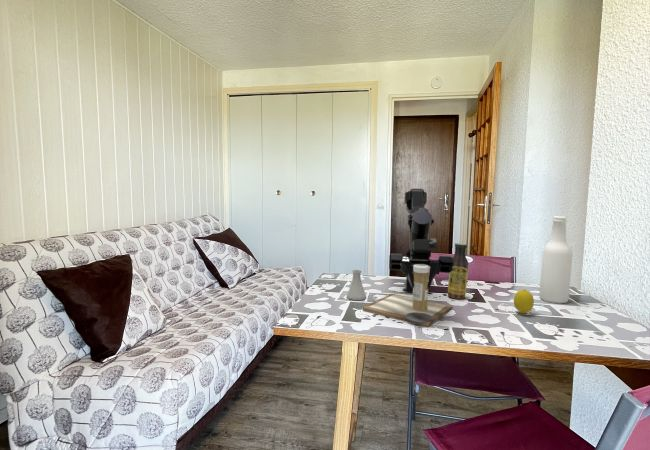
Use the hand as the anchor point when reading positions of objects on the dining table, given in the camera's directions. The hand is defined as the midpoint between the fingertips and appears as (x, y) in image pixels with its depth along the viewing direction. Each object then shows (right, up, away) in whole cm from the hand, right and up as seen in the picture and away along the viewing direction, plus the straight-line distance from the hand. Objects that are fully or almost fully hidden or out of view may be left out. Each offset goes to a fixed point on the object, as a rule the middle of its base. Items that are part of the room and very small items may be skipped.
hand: (420, 287), depth 104 cm
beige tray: (-1, -9, +12) cm, 15 cm away
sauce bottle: (+20, -8, +26) cm, 34 cm away
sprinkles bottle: (0, -7, +2) cm, 7 cm away
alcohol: (+54, -9, +23) cm, 59 cm away
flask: (-17, -8, +24) cm, 31 cm away
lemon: (+35, -10, +9) cm, 38 cm away
